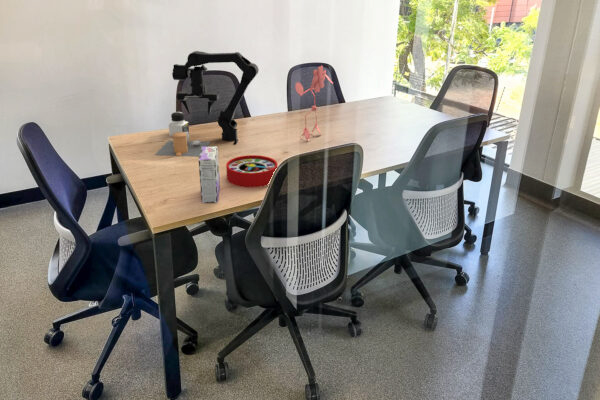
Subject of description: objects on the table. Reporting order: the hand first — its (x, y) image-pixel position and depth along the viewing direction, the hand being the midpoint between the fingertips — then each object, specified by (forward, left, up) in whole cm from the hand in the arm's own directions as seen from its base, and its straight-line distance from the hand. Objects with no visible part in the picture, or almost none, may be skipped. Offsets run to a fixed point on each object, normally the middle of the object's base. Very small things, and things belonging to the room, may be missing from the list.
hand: (199, 114), depth 225 cm
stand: (+4, +15, -13) cm, 20 cm away
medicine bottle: (+12, -5, -13) cm, 19 cm away
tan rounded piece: (+4, +20, -12) cm, 23 cm away
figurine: (-55, -10, -13) cm, 57 cm away
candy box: (-19, +60, -13) cm, 64 cm away
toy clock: (-31, +42, -14) cm, 54 cm away
